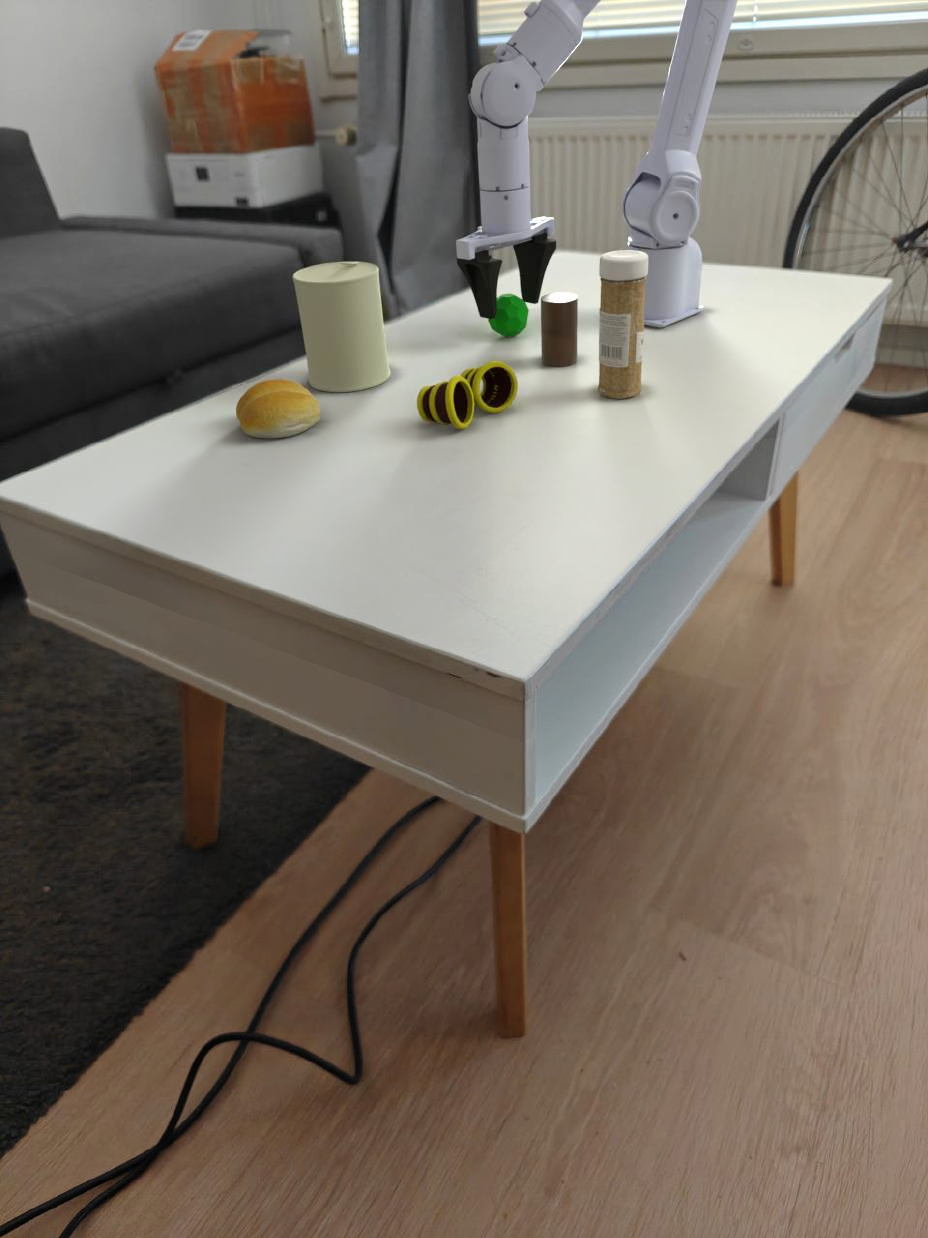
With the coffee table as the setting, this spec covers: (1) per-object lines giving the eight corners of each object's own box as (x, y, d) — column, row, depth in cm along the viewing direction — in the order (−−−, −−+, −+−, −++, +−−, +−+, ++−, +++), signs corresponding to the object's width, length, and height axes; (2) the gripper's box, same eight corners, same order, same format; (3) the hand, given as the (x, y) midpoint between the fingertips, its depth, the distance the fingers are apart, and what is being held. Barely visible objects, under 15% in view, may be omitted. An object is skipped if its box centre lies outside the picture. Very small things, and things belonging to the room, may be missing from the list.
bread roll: (248, 447, 85) (239, 407, 83) (235, 417, 92) (226, 379, 90) (331, 431, 87) (325, 391, 85) (312, 402, 95) (306, 365, 92)
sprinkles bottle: (651, 392, 91) (659, 253, 83) (617, 403, 89) (622, 261, 81) (620, 381, 94) (625, 246, 87) (587, 391, 92) (589, 254, 85)
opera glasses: (485, 404, 93) (476, 356, 91) (522, 404, 89) (514, 354, 87) (419, 434, 88) (407, 383, 85) (456, 436, 84) (444, 383, 82)
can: (405, 368, 102) (394, 257, 95) (364, 395, 95) (349, 279, 89) (336, 361, 106) (321, 255, 99) (293, 388, 99) (273, 275, 92)
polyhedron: (481, 334, 111) (479, 294, 108) (515, 326, 113) (513, 287, 110) (502, 343, 107) (501, 303, 105) (536, 335, 109) (536, 295, 107)
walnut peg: (557, 353, 103) (557, 290, 99) (584, 359, 101) (585, 295, 97) (534, 362, 101) (533, 298, 97) (561, 369, 98) (561, 304, 95)
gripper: (522, 175, 107) (525, 291, 115) (434, 195, 99) (443, 318, 107) (567, 178, 103) (567, 299, 110) (478, 199, 95) (485, 328, 102)
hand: (509, 309), depth 108 cm, fingers open, 7 cm apart
